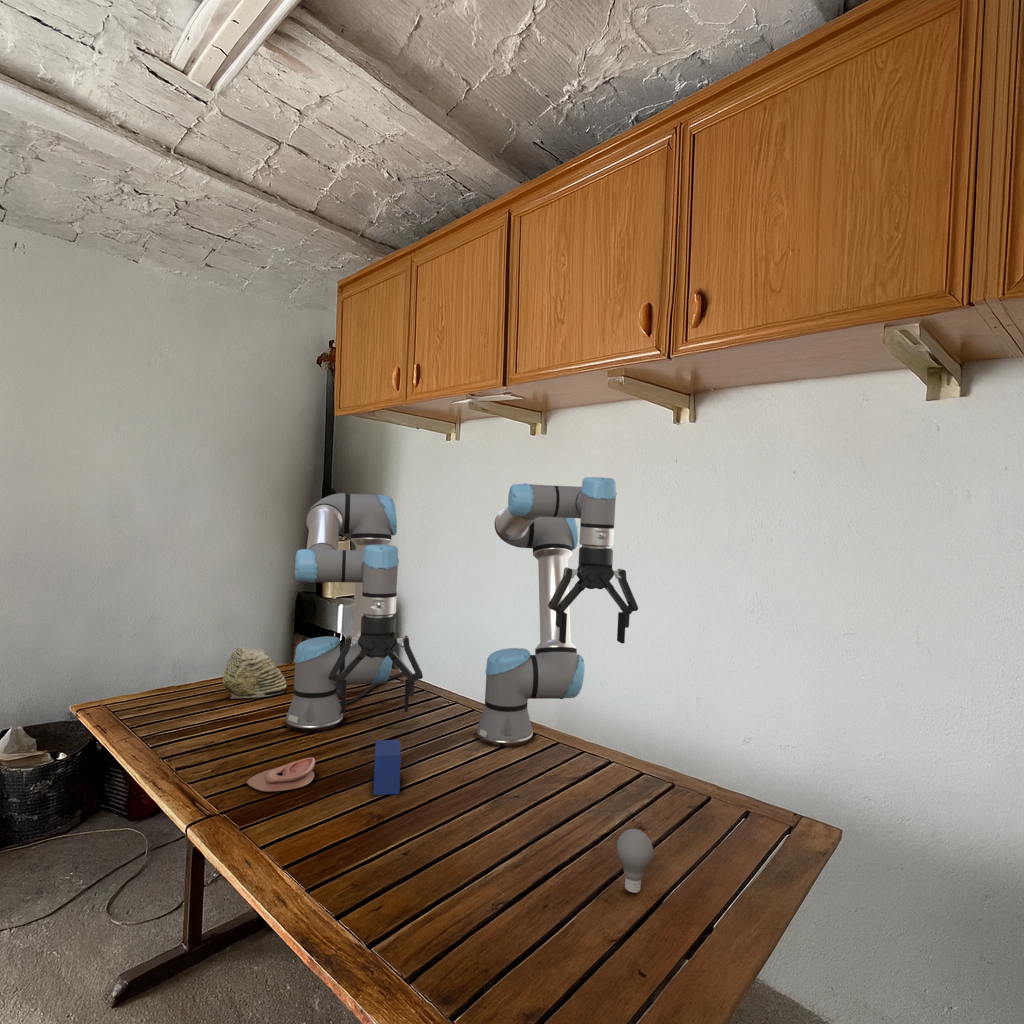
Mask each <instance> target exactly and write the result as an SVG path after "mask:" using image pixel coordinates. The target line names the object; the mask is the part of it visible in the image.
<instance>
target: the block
mask: <svg viewBox="0 0 1024 1024" xmlns="http://www.w3.org/2000/svg"><path fill="white" fill-rule="evenodd" d="M401 747H402V746H401V739H378V740H375V748H374V771H373V772H374V773H373V796H384V795H400V787H401V765H402V763H401V762H402V748H401Z"/></svg>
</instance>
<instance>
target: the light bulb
mask: <svg viewBox="0 0 1024 1024" xmlns="http://www.w3.org/2000/svg"><path fill="white" fill-rule="evenodd" d="M615 849H616V854H617V857H618V859H619V861H620V863H621V865H622V867H623V873H624V874H623V875H624V876H625V878H624V888H625V890H627V891H628V892H630V893H634V894H635V893H639V892H640V891H641V889H642V887H641V886H642V879H643V877H644V875H645V871H646V868H647V867H648V866H649V864H650V863H651V861H652V859H653V855H654V847H653V843H652V841H651V838H649V836H648V835H647V834H646V833H645V832H643V831H642V830H641V829H636V828H629V829H627V830H625V831H623V832H622V833H621V834H620V835H619V837H618V839H617V841H616V847H615Z"/></svg>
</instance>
